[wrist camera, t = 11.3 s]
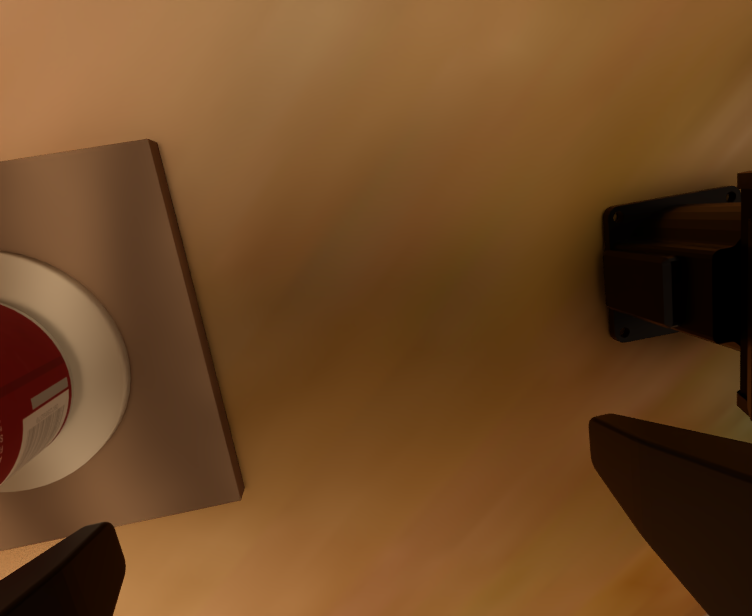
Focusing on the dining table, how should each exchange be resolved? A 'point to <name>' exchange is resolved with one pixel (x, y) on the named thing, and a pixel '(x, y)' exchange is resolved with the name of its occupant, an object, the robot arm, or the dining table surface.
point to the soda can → (30, 390)
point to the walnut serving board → (111, 346)
